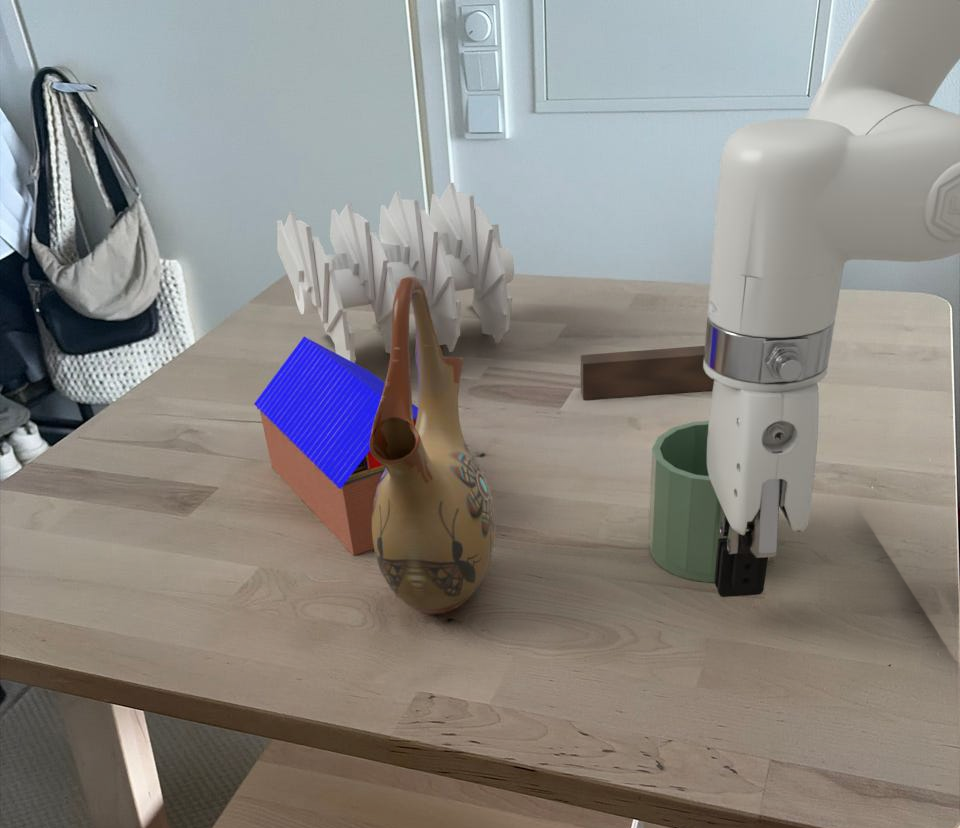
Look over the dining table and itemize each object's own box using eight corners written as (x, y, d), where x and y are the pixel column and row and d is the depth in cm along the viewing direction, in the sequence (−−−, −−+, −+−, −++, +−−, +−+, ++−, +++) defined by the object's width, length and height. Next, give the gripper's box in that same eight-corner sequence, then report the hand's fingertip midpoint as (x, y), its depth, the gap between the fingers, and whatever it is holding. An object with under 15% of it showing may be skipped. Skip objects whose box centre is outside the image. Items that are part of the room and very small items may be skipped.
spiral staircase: (522, 375, 124) (321, 413, 116) (469, 274, 131) (277, 303, 123) (556, 251, 108) (326, 285, 100) (493, 145, 115) (275, 168, 107)
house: (351, 558, 86) (330, 431, 79) (267, 467, 100) (242, 352, 93) (475, 515, 91) (465, 391, 84) (377, 433, 105) (362, 321, 98)
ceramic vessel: (477, 664, 74) (447, 326, 59) (357, 656, 76) (298, 325, 61) (515, 542, 87) (499, 237, 71) (412, 537, 88) (374, 238, 73)
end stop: (711, 380, 110) (714, 344, 107) (716, 390, 108) (719, 353, 105) (580, 390, 110) (580, 354, 107) (583, 400, 108) (583, 363, 105)
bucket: (755, 513, 88) (766, 416, 82) (785, 577, 80) (800, 475, 75) (640, 521, 88) (643, 425, 83) (660, 586, 80) (665, 485, 75)
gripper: (868, 391, 57) (820, 649, 69) (794, 299, 69) (763, 532, 80) (734, 400, 57) (708, 657, 69) (683, 306, 69) (667, 538, 80)
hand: (738, 589), depth 75 cm, fingers closed
